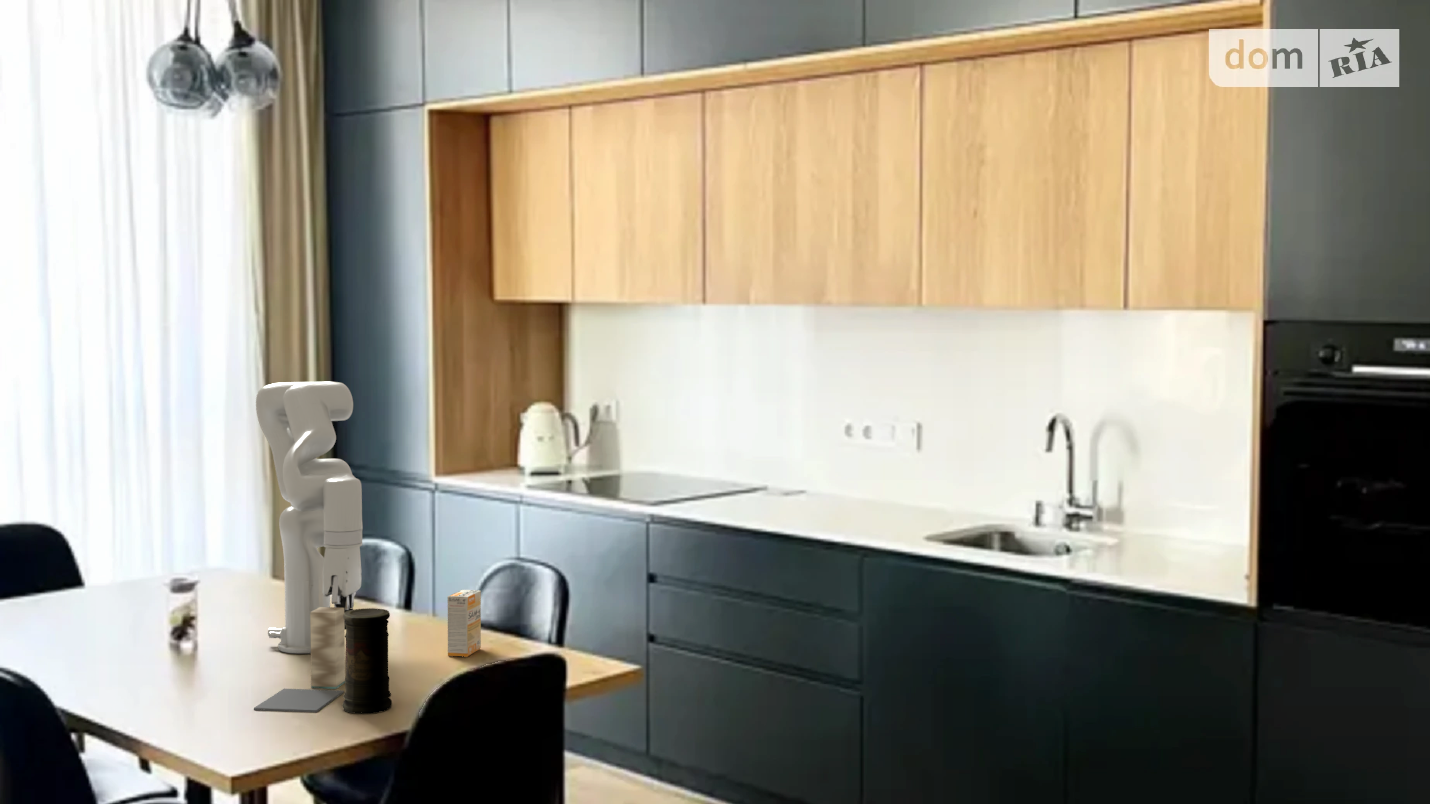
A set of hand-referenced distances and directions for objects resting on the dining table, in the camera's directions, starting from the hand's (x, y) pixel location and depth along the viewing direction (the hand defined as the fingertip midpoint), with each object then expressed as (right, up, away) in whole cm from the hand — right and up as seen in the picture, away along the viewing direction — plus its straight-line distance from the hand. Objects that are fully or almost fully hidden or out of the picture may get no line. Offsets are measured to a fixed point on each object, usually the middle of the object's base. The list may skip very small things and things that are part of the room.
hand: (344, 628), depth 299 cm
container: (+10, -11, -24) cm, 29 cm away
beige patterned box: (-1, -10, -8) cm, 13 cm away
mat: (-3, -11, -20) cm, 23 cm away
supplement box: (+21, -9, +20) cm, 30 cm away
